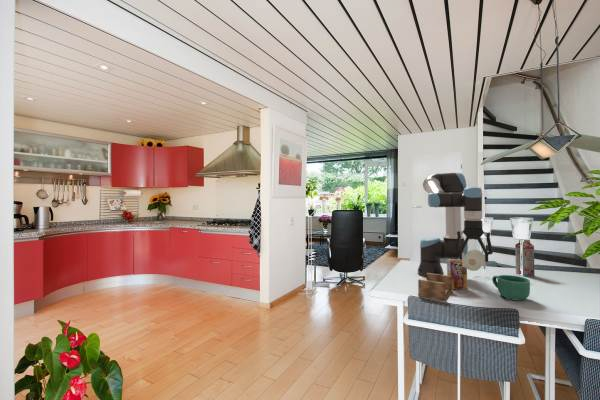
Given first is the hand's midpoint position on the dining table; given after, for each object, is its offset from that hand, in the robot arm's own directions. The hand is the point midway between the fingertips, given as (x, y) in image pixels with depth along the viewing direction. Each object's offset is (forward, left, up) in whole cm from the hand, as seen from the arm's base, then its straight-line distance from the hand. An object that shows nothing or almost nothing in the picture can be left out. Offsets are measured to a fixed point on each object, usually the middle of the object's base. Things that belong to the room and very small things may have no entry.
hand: (473, 267), depth 139 cm
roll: (0, 0, 0) cm, 0 cm away
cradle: (+2, -17, -15) cm, 23 cm away
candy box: (-15, -10, -15) cm, 23 cm away
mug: (-14, +13, -15) cm, 25 cm away
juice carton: (-71, +19, -15) cm, 75 cm away
